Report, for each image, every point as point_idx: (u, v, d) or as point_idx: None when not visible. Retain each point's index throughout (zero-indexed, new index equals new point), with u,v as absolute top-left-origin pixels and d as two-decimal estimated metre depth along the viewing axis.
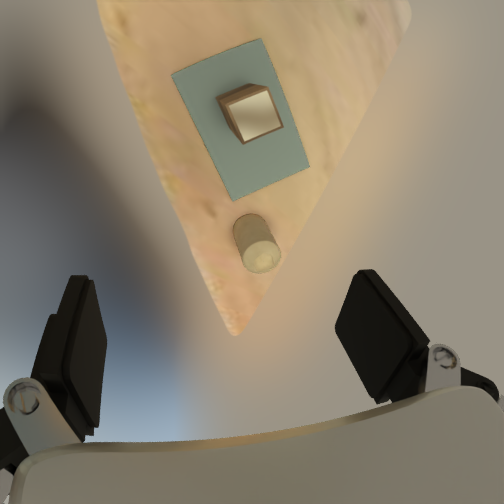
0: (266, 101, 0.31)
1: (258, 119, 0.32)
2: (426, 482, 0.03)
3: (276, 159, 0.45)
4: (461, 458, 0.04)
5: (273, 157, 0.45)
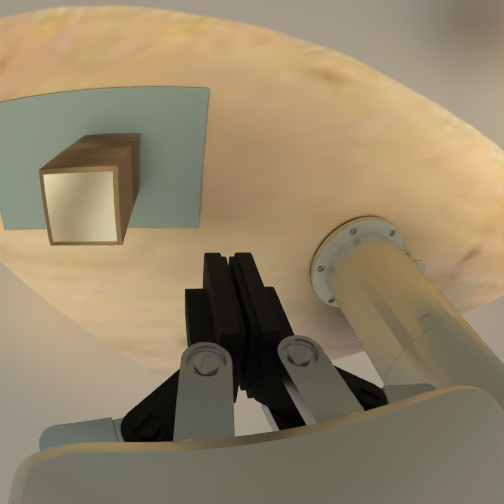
0: (98, 234, 0.18)
1: (72, 210, 0.16)
2: (426, 482, 0.03)
3: (21, 187, 0.23)
4: (461, 458, 0.04)
5: (24, 184, 0.23)
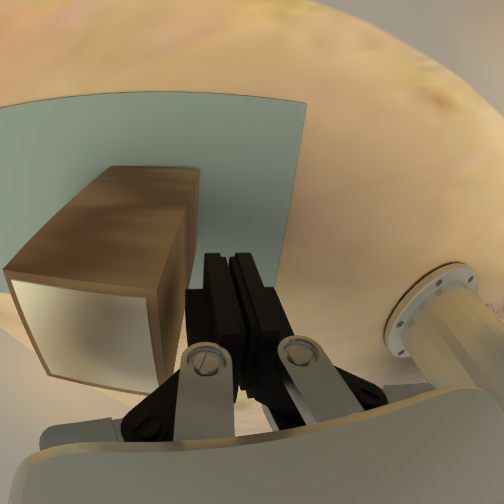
0: (124, 381, 0.10)
1: (73, 344, 0.09)
2: (426, 482, 0.03)
3: (17, 239, 0.16)
4: (461, 458, 0.04)
5: (20, 235, 0.16)
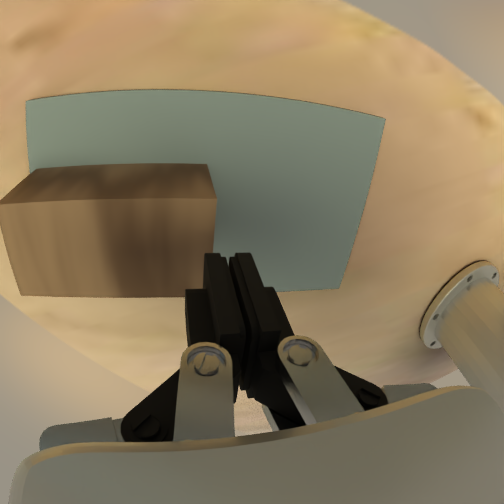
0: None
1: None
2: (426, 482, 0.03)
3: None
4: (461, 458, 0.04)
5: None
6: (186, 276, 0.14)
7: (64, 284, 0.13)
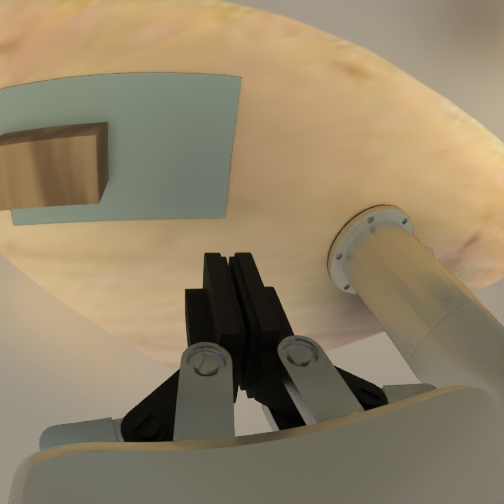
0: None
1: None
2: (426, 482, 0.03)
3: None
4: (461, 458, 0.04)
5: None
6: (82, 188, 0.19)
7: (13, 199, 0.18)
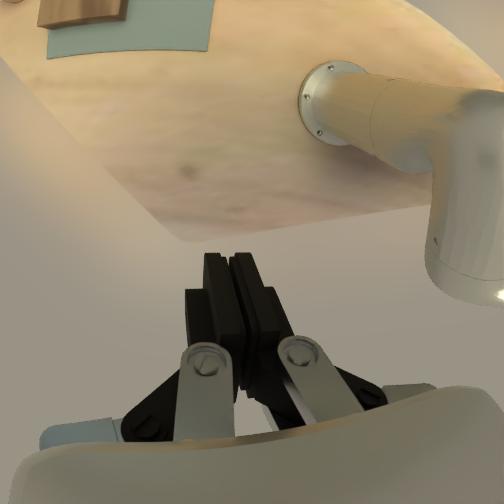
0: None
1: None
2: (426, 482, 0.03)
3: None
4: (461, 458, 0.04)
5: None
6: (109, 5, 0.23)
7: (59, 16, 0.22)
